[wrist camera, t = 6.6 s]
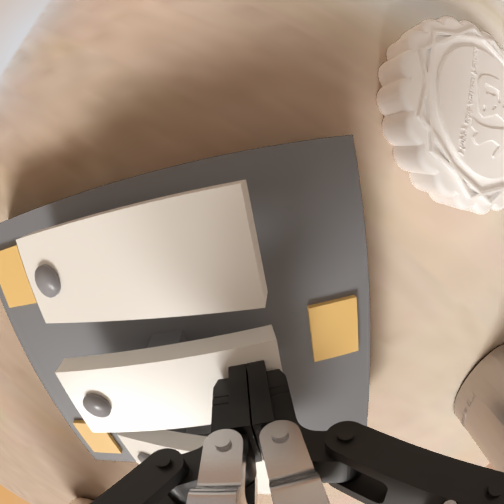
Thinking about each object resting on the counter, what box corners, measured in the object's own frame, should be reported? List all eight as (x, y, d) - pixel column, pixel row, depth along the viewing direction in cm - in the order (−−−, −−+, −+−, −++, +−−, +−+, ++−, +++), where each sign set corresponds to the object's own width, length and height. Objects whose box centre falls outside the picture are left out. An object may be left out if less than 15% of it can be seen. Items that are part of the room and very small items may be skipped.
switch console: (331, 138, 15) (366, 132, 11) (353, 400, 21) (373, 443, 16) (7, 221, 15) (-38, 239, 11) (104, 433, 20) (90, 473, 16)
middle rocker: (271, 324, 13) (277, 342, 11) (284, 392, 14) (290, 412, 13) (64, 358, 12) (53, 375, 11) (98, 417, 14) (91, 435, 12)
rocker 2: (294, 442, 13) (289, 464, 12) (301, 479, 14) (297, 498, 13) (126, 421, 16) (115, 436, 14) (151, 458, 17) (142, 473, 16)
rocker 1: (246, 179, 10) (239, 183, 9) (267, 291, 11) (264, 310, 10) (32, 232, 12) (12, 241, 10) (60, 311, 13) (43, 325, 12)
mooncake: (487, 228, 18) (521, 241, 14) (351, 166, 16) (380, 169, 13) (514, 85, 15) (545, 82, 11) (391, -2, 13) (418, -24, 10)
